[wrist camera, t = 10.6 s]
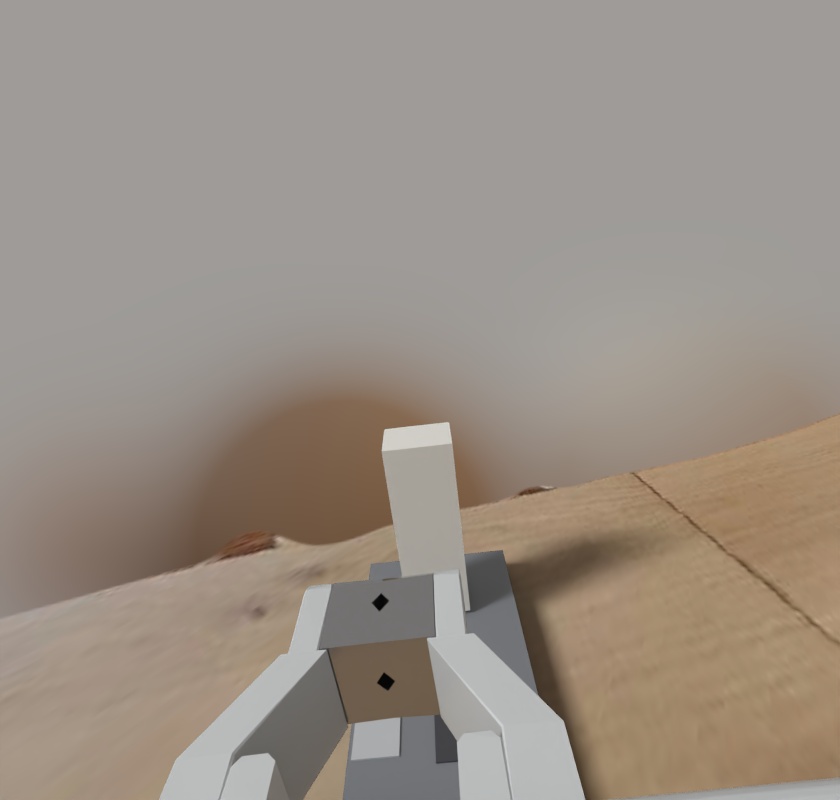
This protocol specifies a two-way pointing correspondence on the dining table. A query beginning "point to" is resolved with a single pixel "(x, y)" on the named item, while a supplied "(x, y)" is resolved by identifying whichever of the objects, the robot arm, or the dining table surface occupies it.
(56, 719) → the dining table surface
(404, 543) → the switch tab
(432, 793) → the switch panel
